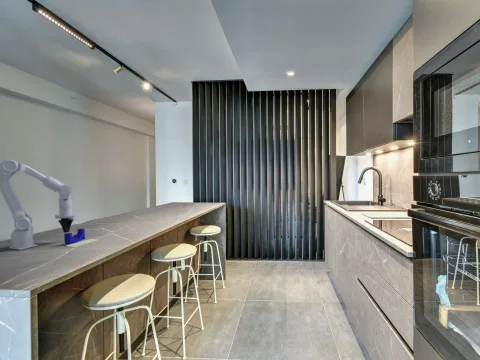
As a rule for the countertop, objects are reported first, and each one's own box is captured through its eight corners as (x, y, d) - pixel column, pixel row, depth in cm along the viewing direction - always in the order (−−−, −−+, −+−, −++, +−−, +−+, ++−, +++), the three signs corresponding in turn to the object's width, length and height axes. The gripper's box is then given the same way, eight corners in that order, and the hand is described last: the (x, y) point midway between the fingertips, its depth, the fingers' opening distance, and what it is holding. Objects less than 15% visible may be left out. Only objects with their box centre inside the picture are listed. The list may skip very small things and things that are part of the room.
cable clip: (77, 239, 144) (76, 228, 144) (85, 239, 144) (84, 228, 144) (61, 245, 132) (61, 233, 132) (70, 245, 132) (70, 233, 132)
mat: (65, 246, 130) (65, 245, 130) (90, 239, 142) (90, 238, 142) (73, 247, 127) (73, 246, 127) (98, 240, 140) (98, 239, 140)
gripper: (81, 206, 140) (82, 231, 140) (63, 205, 145) (64, 229, 146) (69, 208, 133) (70, 234, 134) (50, 207, 139) (51, 232, 139)
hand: (66, 232), depth 139 cm, fingers closed
